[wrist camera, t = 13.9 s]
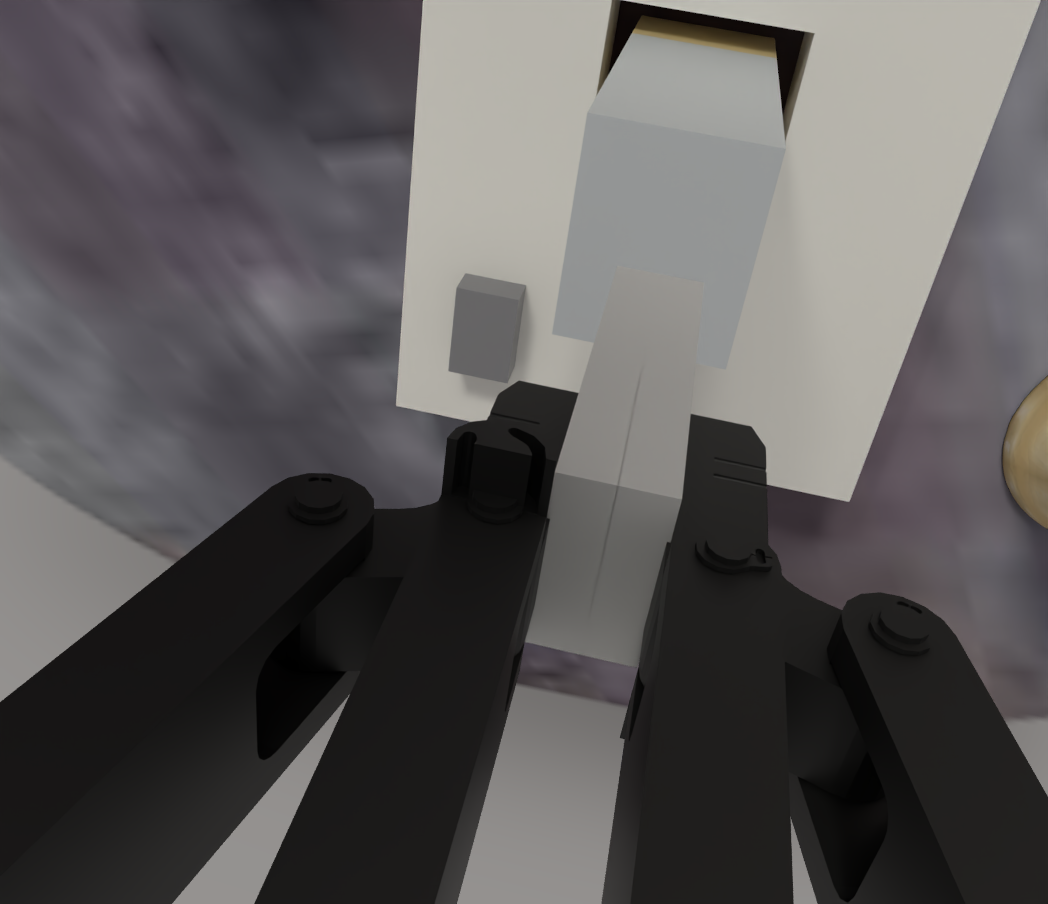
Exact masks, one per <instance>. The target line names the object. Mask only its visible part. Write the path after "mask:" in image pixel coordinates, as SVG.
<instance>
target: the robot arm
mask: <svg viewBox="0 0 1048 904" xmlns="http://www.w3.org/2000/svg"><path fill="white" fill-rule="evenodd" d="M703 289H704V282H699V281H693V280H688V279H683V278H678V277H673V276H668V275H663V274H658V273H653V272H647V271H642V270H637V269H632V268H627V267H622V266H617V268H616V272H615V275H614V278H613V282H612V285H611V288H610V292H609V295H608V298H607V301H606V305H605V308H604V311H603V315H602V318H601V321H600V325H599V328H598V331H597V334H596V338H595V341H594V344H593V348H592V351H591V354H590V358H589V361H588V364H587V367H586V371H585V374H584V377H583V381H582V384H581V387H580V391H579V393H577V392H572V391H567V390H562V389H558V388H553V387H548V386H543V385H538V384H534V383H529V382H524V381H517V382H516V383H514V384H513V385H511V386H510V387H508V388H507V389H505V390H504V391H502V392H500V393H499V394H498V396H497V398H496V400H495V403H494V405H493V407H492V409H491V412H490V416H488V418H487V420H482V421H473V422H470V423H468V424H465V425H463V426H460V427H458V428H456V429H455V430H454V431H453V432H452V433H451V434H450V436H449V437H448V438H447V446H446V456H445V465H444V475H443V485H442V494H441V496H440V499H439V501H438V502H435V503H433V504H431V505H426V506H422V507H418V508H407V509H374V499H373V498H372V496H371V495H370V494H369V492H368V491H367V490H366V488H365V487H363V486H361V485H360V484H358V483H356V482H355V481H353V480H351V479H349V478H345V477H341V476H337V475H333V474H320V473H308V474H303V475H299V476H294V477H289V478H287V479H285V480H283V481H281V482H279V483H278V484H276V485H274V486H272V487H271V488H269V489H268V490H267V491H266V492H264V493H263V494H262V495H261V496H259V497H258V498H257V499H256V500H254V501H253V502H252V503H251V504H249V505H248V506H247V507H246V508H244V509H243V510H242V511H240V512H239V513H238V514H237V515H235V516H234V517H233V518H232V519H230V520H229V521H228V522H227V523H225V524H224V525H223V526H222V527H220V528H219V529H218V530H217V531H215V532H214V533H213V534H211V535H210V536H209V537H208V538H206V539H205V540H204V541H203V542H201V543H200V544H199V545H198V546H196V547H195V548H194V549H193V550H191V551H190V552H189V553H188V554H186V555H185V556H184V557H182V558H181V559H180V560H179V561H177V562H176V563H175V564H174V565H172V566H171V567H170V568H169V569H168V570H166V571H165V572H164V573H162V574H161V575H160V576H159V577H158V578H156V579H155V580H154V581H152V582H151V583H150V584H149V585H147V586H146V587H145V588H143V589H142V590H141V591H140V592H138V593H137V594H136V595H135V596H133V597H132V598H131V599H130V600H128V601H127V602H126V603H125V604H123V605H122V606H121V607H120V608H118V609H117V610H116V611H115V612H113V613H112V614H111V615H109V616H108V617H107V618H106V619H104V620H103V621H102V622H101V623H99V624H98V625H97V626H96V627H94V628H93V629H92V630H91V631H89V632H88V633H87V634H85V635H84V636H83V637H82V638H80V639H79V640H78V641H77V642H75V643H74V644H73V645H72V646H70V647H69V648H68V649H67V650H65V651H64V652H63V653H62V654H60V655H59V656H58V657H56V658H55V659H54V660H53V661H51V662H50V663H49V664H48V665H46V666H45V667H44V668H43V669H41V670H40V671H39V672H38V673H36V674H35V675H34V676H33V677H31V678H30V679H29V680H27V681H26V682H25V683H24V684H23V685H21V686H20V687H19V688H17V689H16V690H15V691H14V692H13V693H11V694H10V695H9V696H7V697H6V698H5V699H4V700H2V701H1V702H0V904H172V903H173V902H174V901H175V899H176V898H177V897H178V896H179V895H180V894H181V892H182V891H183V890H184V889H185V887H186V886H187V885H188V884H189V883H190V882H191V881H192V879H193V878H194V877H195V876H196V874H198V872H199V871H200V870H201V869H202V868H203V866H204V865H205V864H206V863H207V861H208V860H209V859H210V858H211V857H212V856H213V855H214V853H215V852H216V851H217V850H218V849H219V848H220V846H221V845H222V844H223V843H224V842H225V840H226V839H227V838H228V837H229V836H230V835H231V833H232V832H233V831H234V830H235V829H236V828H237V826H238V825H239V824H240V823H241V821H242V820H243V819H244V818H245V817H246V816H247V815H248V813H249V812H250V811H251V810H252V809H253V807H254V806H255V805H256V804H257V803H258V801H259V800H260V799H261V798H262V797H263V795H264V794H265V793H266V792H267V791H268V790H269V789H270V787H271V786H272V785H273V784H274V783H275V782H276V780H277V779H278V778H279V777H280V776H281V774H282V773H283V772H284V771H285V769H287V767H288V766H289V765H290V764H291V763H292V762H293V760H294V759H295V758H296V757H297V756H298V754H299V753H300V752H301V751H302V750H303V749H304V747H305V746H306V745H307V744H308V743H309V741H310V740H311V739H312V738H313V737H314V736H315V734H316V733H317V732H318V731H319V730H320V728H321V727H322V726H323V725H324V724H325V722H326V721H327V720H328V719H329V718H330V717H331V715H332V714H333V713H334V712H335V711H336V710H337V708H338V707H339V706H340V705H341V704H342V703H343V701H344V700H345V699H346V698H347V697H348V695H349V694H350V696H349V698H348V700H347V702H346V704H345V707H344V709H343V711H342V713H341V715H340V717H339V720H338V722H337V724H336V726H335V728H334V731H333V733H332V735H331V737H330V739H329V741H328V744H327V746H326V748H325V750H324V753H323V755H322V757H321V759H320V761H319V763H318V766H317V768H316V770H315V772H314V774H313V776H312V779H311V781H310V783H309V785H308V788H307V790H306V792H305V794H304V796H303V799H302V801H301V803H300V805H299V807H298V809H297V812H296V814H295V816H294V818H293V820H292V823H291V825H290V827H289V829H288V831H287V833H286V836H285V838H284V840H283V842H282V844H281V847H280V849H279V851H278V853H277V855H276V858H275V860H274V862H273V864H272V866H271V869H270V871H269V873H268V875H267V877H266V879H265V882H264V884H263V886H262V888H261V890H260V892H259V895H258V897H257V899H256V901H255V904H457V901H458V897H459V893H460V890H461V886H462V883H463V879H464V875H465V871H466V867H467V864H468V860H469V856H470V853H471V849H472V845H473V842H474V838H475V834H476V830H477V827H478V823H479V819H480V816H481V812H482V808H483V805H484V801H485V797H486V793H487V790H488V786H489V782H490V779H491V775H492V771H493V768H494V764H495V760H496V756H497V753H498V749H499V745H500V742H501V738H502V734H503V730H504V727H505V723H506V719H507V715H508V712H509V708H510V704H511V701H512V697H513V693H514V690H515V686H516V682H517V678H518V675H519V671H520V665H521V660H522V654H523V648H524V643H525V642H527V643H532V644H536V645H540V646H545V647H549V648H553V649H558V650H562V651H566V652H571V653H575V654H579V655H583V656H588V657H592V658H596V659H601V660H605V661H609V662H614V663H618V664H622V665H627V666H631V667H635V668H637V666H638V663H639V668H638V672H637V675H636V679H635V683H634V687H633V690H632V694H631V698H630V702H629V705H628V709H627V713H626V717H625V721H624V724H623V728H622V732H621V735H620V738H623V739H625V742H624V749H623V756H622V762H621V770H620V777H619V784H618V791H617V798H616V805H615V812H614V819H613V826H612V833H611V840H610V848H609V854H608V862H607V868H606V875H605V882H604V890H603V897H602V904H793V876H792V848H791V823H790V816H791V819H792V823H793V826H794V829H795V832H796V835H797V838H798V842H799V845H800V848H801V851H802V855H803V858H804V861H805V864H806V867H807V871H808V874H809V877H810V880H811V883H812V887H813V890H814V893H815V896H816V900H817V903H818V904H1048V796H1047V794H1046V793H1045V791H1044V789H1043V787H1042V786H1041V784H1040V782H1039V780H1038V779H1037V777H1036V775H1035V773H1034V772H1033V770H1032V768H1031V766H1030V765H1029V763H1028V761H1027V759H1026V758H1025V756H1024V754H1023V752H1022V751H1021V749H1020V747H1019V745H1018V744H1017V742H1016V740H1015V739H1014V737H1013V735H1012V733H1011V731H1010V730H1009V728H1008V726H1007V724H1006V723H1005V721H1004V719H1003V717H1002V716H1001V714H1000V712H999V710H998V709H997V707H996V705H995V703H994V702H993V700H992V698H991V696H990V694H989V693H988V691H987V689H986V687H985V686H984V684H983V682H982V680H981V679H980V677H979V675H978V673H977V672H976V670H975V668H974V666H973V665H972V663H971V661H970V659H969V658H968V656H967V654H966V652H965V651H964V649H963V647H962V645H961V644H960V642H959V640H958V638H957V637H956V635H955V634H954V633H953V632H952V630H951V629H950V628H949V627H948V625H947V624H946V623H945V622H944V621H943V620H942V619H941V618H940V617H938V616H937V615H935V614H934V613H933V612H931V611H930V610H928V609H927V608H926V607H924V606H922V605H920V604H917V603H915V602H913V601H911V600H908V599H906V598H904V597H900V596H895V595H890V594H885V593H868V594H860V595H858V596H856V597H854V598H852V599H850V600H848V601H847V602H846V604H845V606H844V608H843V610H840V609H838V608H835V607H833V606H831V605H829V604H826V603H824V602H822V601H820V600H817V599H815V598H814V597H812V596H810V595H808V594H806V593H804V592H802V591H800V590H799V589H798V588H796V587H795V586H794V585H792V584H791V583H790V582H788V581H787V580H786V579H785V578H784V577H783V576H782V573H781V566H780V563H779V560H778V557H777V554H776V553H775V552H774V551H773V550H772V549H771V548H770V546H769V545H768V514H767V489H766V486H767V473H766V447H765V445H764V444H763V443H762V441H761V440H760V438H759V437H758V435H757V434H756V432H755V431H754V429H753V428H752V426H747V425H742V424H738V423H733V422H728V421H723V420H718V419H714V418H709V417H704V416H699V415H694V414H691V406H692V396H693V387H694V377H695V367H696V357H697V347H698V338H699V328H700V318H701V308H702V299H703ZM639 659H640V662H639Z"/></svg>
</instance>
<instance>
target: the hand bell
mask: <svg viewBox="0 0 1048 904" xmlns="http://www.w3.org/2000/svg"><path fill="white" fill-rule="evenodd" d="M1003 470H1004V476H1005V479H1006V483H1007V485H1008V488H1009V490H1010V492H1011V494H1012V496H1013V497H1014V499H1015V500H1016V502H1017V503H1018V504H1019V506H1020V507H1021V508H1022V509H1023V510H1024V511H1025V512H1026V513H1027V514H1028V515H1029V516H1030V517H1031V518H1032V519H1034V520H1035V521H1036V522H1038V523H1039V524H1040V525H1042V526H1043V527H1045V528H1047V529H1048V376H1047V377H1046V378H1045V379H1044V380H1043V381H1042V382H1041V383H1039V384H1038V385H1037V386H1036V387H1035V388H1034V389H1033V390H1032V391H1031V392H1030V394H1029V395H1028V396H1027V397H1026V398H1025V399H1024V400H1023V402H1022V403H1021V405H1020V407H1019V408H1018V410H1017V411H1016V412H1015V414H1014V416H1013V417H1012V419H1011V421H1010V423H1009V427H1008V430H1007V434H1006V437H1005V440H1004V446H1003Z"/></svg>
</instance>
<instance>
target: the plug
mask: <svg viewBox="0 0 1048 904" xmlns="http://www.w3.org/2000/svg"><path fill="white" fill-rule="evenodd" d="M785 151H786V144H785V135H784V125H783V115H782V105H781V95H780V86H779V76H778V66H777V56H776V47H775V38H771V37H765V36H759V35H753V34H747V33H742V32H736V31H730V30H724V29H719V28H713V27H707V26H701V25H695V24H690V23H684V22H678V21H672V20H666V19H661V18H655V17H649V16H643V15H642V16H641V18H640V19H639V21H638V23H637V25H636V27H635V28H634V30H633V32H632V34H631V36H630V37H629V39H628V41H627V43H626V44H625V46H624V48H623V50H622V52H621V53H620V55H619V57H618V59H617V61H616V62H615V64H614V66H613V68H612V69H611V71H610V73H609V75H608V77H607V78H606V80H605V82H604V84H603V86H602V87H601V89H600V91H599V93H598V94H597V96H596V98H595V100H594V102H593V103H592V105H591V107H590V109H589V111H588V112H587V118H586V124H585V130H584V137H583V143H582V149H581V155H580V162H579V168H578V174H577V180H576V187H575V193H574V199H573V205H572V212H571V218H570V224H569V231H568V237H567V243H566V249H565V256H564V262H563V268H562V274H561V281H560V287H559V293H558V299H557V306H556V312H555V318H554V325H553V331H552V334H553V335H558V336H563V337H568V338H573V339H578V340H583V341H588V342H593V343H594V341H595V338H596V334H597V331H598V328H599V325H600V321H601V318H602V315H603V311H604V308H605V305H606V301H607V298H608V295H609V292H610V288H611V285H612V282H613V278H614V275H615V272H616V268H617V266H622V267H627V268H632V269H637V270H642V271H647V272H653V273H658V274H663V275H668V276H673V277H678V278H683V279H688V280H693V281H699V282H704V289H703V299H702V308H701V318H700V328H699V338H698V347H697V357H696V364H701V365H706V366H711V367H715V368H720V369H725V370H726V367H727V363H728V360H729V356H730V352H731V349H732V345H733V341H734V338H735V334H736V330H737V327H738V323H739V319H740V316H741V312H742V308H743V305H744V301H745V297H746V294H747V290H748V286H749V283H750V279H751V275H752V272H753V268H754V264H755V261H756V257H757V253H758V250H759V246H760V242H761V239H762V235H763V231H764V228H765V224H766V220H767V217H768V213H769V209H770V206H771V202H772V198H773V195H774V191H775V187H776V184H777V180H778V176H779V173H780V169H781V165H782V162H783V158H784V154H785Z"/></svg>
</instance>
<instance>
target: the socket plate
mask: <svg viewBox="0 0 1048 904" xmlns="http://www.w3.org/2000/svg"><path fill="white" fill-rule="evenodd" d="M624 1H630V2H636V3H642V4H647V5H653V6H659V7H665V8H671V9H676V10H682V11H688V12H694V13H700V14H706V15H711V16H717V17H723V18H729V19H735V20H741V21H746V22H752V23H758V24H764V25H770V26H775V27H781V28H787V29H793V30H799V31H805V33H804V37H803V41H802V44H801V48H800V52H799V56H798V59H797V63H796V67H795V71H794V74H793V78H792V82H791V86H790V90H789V93H788V97H787V101H786V105H785V108H784V112H783V125H784V135H785V144H786V151H785V154H784V158H783V162H782V165H781V169H780V173H779V176H778V180H777V184H776V187H775V191H774V195H773V198H772V202H771V206H770V209H769V213H768V217H767V220H766V224H765V228H764V231H763V235H762V239H761V242H760V246H759V250H758V253H757V257H756V261H755V264H754V268H753V272H752V275H751V279H750V283H749V286H748V290H747V294H746V297H745V301H744V305H743V308H742V312H741V316H740V319H739V323H738V327H737V330H736V334H735V338H734V341H733V345H732V349H731V352H730V356H729V360H728V363H727V367H726V370H725V369H720V368H715V367H711V366H706V365H701V364H696V367H695V377H694V387H693V396H692V406H691V414H694V415H699V416H704V417H709V418H714V419H718V420H723V421H728V422H733V423H738V424H742V425H747V426H752V428H753V429H754V431H755V432H756V434H757V435H758V437H759V438H760V440H761V441H762V443H763V444H764V445H765V447H766V473H767V485H771V486H776V487H781V488H785V489H790V490H795V491H800V492H804V493H809V494H814V495H818V496H823V497H828V498H833V499H837V500H842V501H847V502H849V501H850V499H851V496H852V494H853V491H854V488H855V486H856V483H857V480H858V478H859V475H860V473H861V470H862V467H863V465H864V462H865V459H866V457H867V454H868V452H869V449H870V446H871V444H872V441H873V439H874V436H875V433H876V431H877V428H878V425H879V423H880V420H881V418H882V415H883V412H884V410H885V407H886V405H887V402H888V399H889V397H890V394H891V391H892V389H893V386H894V384H895V381H896V378H897V376H898V373H899V370H900V368H901V365H902V363H903V360H904V357H905V355H906V352H907V350H908V347H909V344H910V342H911V339H912V336H913V334H914V331H915V329H916V326H917V323H918V321H919V318H920V316H921V313H922V310H923V308H924V305H925V302H926V300H927V297H928V295H929V292H930V289H931V287H932V284H933V281H934V279H935V276H936V274H937V271H938V268H939V266H940V263H941V261H942V258H943V255H944V253H945V250H946V247H947V245H948V242H949V240H950V237H951V234H952V232H953V229H954V227H955V224H956V221H957V219H958V216H959V213H960V211H961V208H962V206H963V203H964V200H965V198H966V195H967V192H968V190H969V187H970V185H971V182H972V179H973V177H974V174H975V172H976V169H977V166H978V164H979V161H980V158H981V156H982V153H983V151H984V148H985V145H986V143H987V140H988V138H989V135H990V132H991V130H992V127H993V124H994V122H995V119H996V117H997V114H998V111H999V109H1000V106H1001V103H1002V101H1003V98H1004V96H1005V93H1006V90H1007V88H1008V85H1009V83H1010V80H1011V77H1012V75H1013V72H1014V69H1015V67H1016V64H1017V62H1018V59H1019V56H1020V54H1021V51H1022V49H1023V46H1024V43H1025V41H1026V38H1027V35H1028V33H1029V30H1030V28H1031V25H1032V22H1033V20H1034V17H1035V14H1036V12H1037V9H1038V7H1039V4H1040V1H1041V0H624ZM620 3H621V0H423V9H422V24H421V39H420V54H419V69H418V84H417V99H416V114H415V129H414V144H413V159H412V174H411V189H410V204H409V219H408V234H407V249H406V264H405V279H404V294H403V309H402V324H401V339H400V354H399V369H398V384H397V399H396V406H400V407H404V408H409V409H414V410H418V411H423V412H428V413H433V414H437V415H442V416H447V417H451V418H456V419H461V420H465V421H470V422H473V421H482V420H487V418H488V416H490V412H491V409H492V407H493V405H494V403H495V400H496V398H497V396H498V394H499V393H500V392H502V391H504V390H505V389H507V388H508V387H510V386H511V385H513V384H514V383H516V382H517V381H524V382H529V383H534V384H538V385H543V386H548V387H553V388H558V389H562V390H567V391H572V392H577V393H579V391H580V387H581V384H582V381H583V377H584V374H585V371H586V367H587V364H588V361H589V358H590V354H591V351H592V348H593V344H594V343H593V342H588V341H583V340H578V339H573V338H568V337H563V336H558V335H553V334H552V331H553V325H554V318H555V312H556V306H557V299H558V293H559V287H560V281H561V274H562V268H563V262H564V256H565V249H566V243H567V237H568V231H569V224H570V218H571V212H572V205H573V199H574V193H575V187H576V180H577V174H578V168H579V162H580V155H581V149H582V143H583V137H584V130H585V124H586V118H587V112H588V111H589V109H590V107H591V105H592V103H593V102H594V100H595V98H596V96H597V94H598V93H599V91H600V89H601V87H602V86H603V84H604V82H605V80H606V78H607V77H608V74H609V68H610V62H611V57H612V51H613V45H614V39H615V33H616V27H617V21H618V15H619V9H620Z"/></svg>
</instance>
